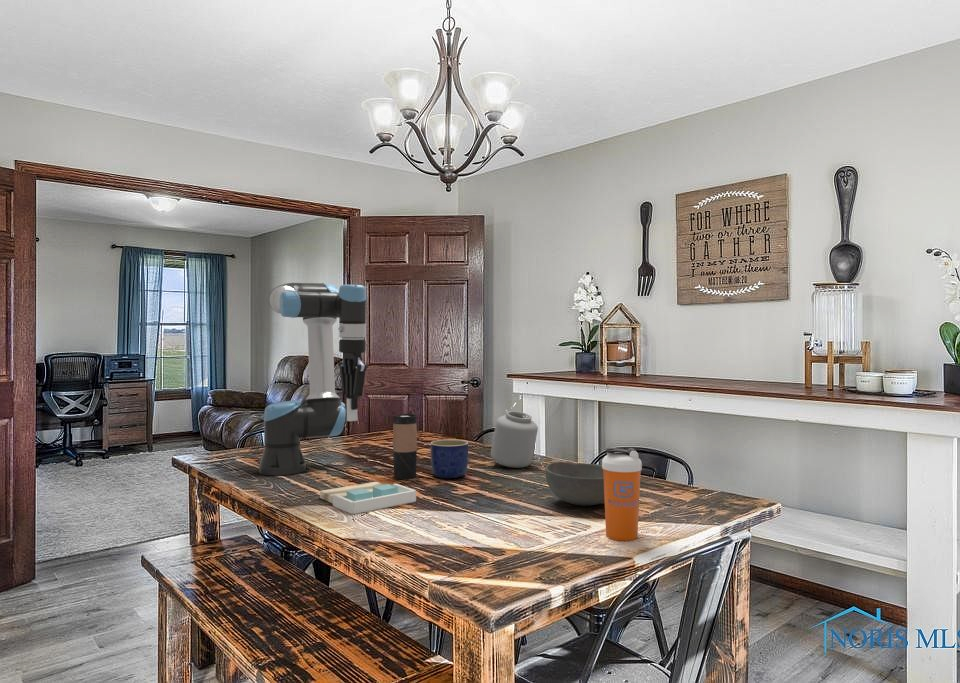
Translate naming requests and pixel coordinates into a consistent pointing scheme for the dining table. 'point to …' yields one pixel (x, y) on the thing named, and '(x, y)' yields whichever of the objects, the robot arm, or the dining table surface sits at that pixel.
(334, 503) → the tray
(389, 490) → the tile
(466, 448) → the planter
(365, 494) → the tile
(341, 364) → the robot arm
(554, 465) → the bowl
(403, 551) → the dining table surface
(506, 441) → the jar
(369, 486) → the board
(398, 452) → the travel mug
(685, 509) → the dining table surface
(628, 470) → the shaker bottle
